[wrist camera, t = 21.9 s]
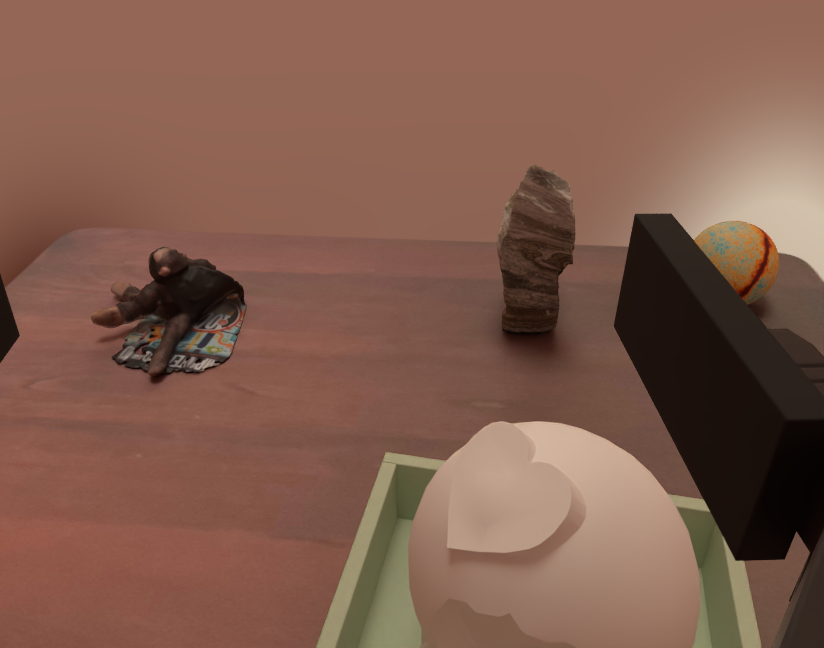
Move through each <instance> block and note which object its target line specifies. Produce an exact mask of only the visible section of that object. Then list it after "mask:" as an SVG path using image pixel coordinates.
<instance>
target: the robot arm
mask: <svg viewBox="0 0 824 648" xmlns="http://www.w3.org/2000/svg"><path fill="white" fill-rule="evenodd" d="M614 328H615V330H616V331H617V333H618V335H619V337H620V339H621V341H622V343H623V345H624V347H625V349H626V351H627V353H628V355H629V356H630V358H631V360H632V362H633V364H634V366H635V368H636V370H637V372H638V374H639V376H640V378H641V380H642V382H643V383H644V385H645V387H646V389H647V391H648V393H649V395H650V397H651V399H652V401H653V403H654V405H655V407H656V408H657V410H658V412H659V414H660V416H661V418H662V420H663V422H664V424H665V426H666V428H667V430H668V432H669V434H670V435H671V437H672V439H673V441H674V443H675V445H676V447H677V449H678V451H679V453H680V455H681V457H682V459H683V460H684V462H685V464H686V466H687V468H688V470H689V472H690V474H691V476H692V478H693V480H694V482H695V484H696V486H697V487H698V489H699V491H700V493H701V495H702V497H703V499H704V501H705V503H706V505H707V507H708V509H709V511H710V512H711V514H712V516H713V518H714V520H715V522H716V524H717V526H718V528H719V530H720V532H721V534H722V536H723V537H724V539H725V541H726V543H727V545H728V547H729V549H730V551H731V553H732V555H733V557H734V559H735V561H748V560H779V559H785V557H786V555H787V552H788V550H789V548H790V545H791V543H792V540H793V538H794V536H795V533H796V531H797V532H798V534H799V536H800V537H801V539H802V540H803V542H804V544H805V545H806V547H807V548H808V550H809V551H810V554H809V556H808V559H807V561H806V563H805V565H804V568H803V570H802V572H801V575H800V577H799V579H798V581H797V584H796V586H795V588H794V590H793V593H792V595H791V597H790V600H789V601H790V603H789V606H788V608H787V611H786V613H785V616H784V618H783V621H782V624H781V626H780V629H779V631H778V634H777V636H776V639H775V641H774V644H773V646H772V648H824V357H823V355H822V354H821V353H820V352H819V351H818V350H817V349H816V348H815V347H814V345H812V344H811V343H809V342H808V341H806V340H804V339H803V338H801V337H799V336H798V335H796V334H795V333H793V332H791V331H790V330H788V329H767V328H766V326H765V325H764V324H763V323H762V322H761V320H760V319H759V318H758V317H757V316H756V314H755V313H754V312H753V311H752V310H751V308H750V307H749V306H748V305H747V304H746V302H745V301H744V300H743V299H742V298H741V297H740V295H739V294H738V293H737V292H736V291H735V289H734V288H733V287H732V286H731V285H730V283H729V282H728V281H727V280H726V279H725V277H724V276H723V275H722V274H721V273H720V271H719V270H718V269H717V268H716V267H715V265H714V264H713V263H712V262H711V261H710V259H709V258H708V257H707V256H706V255H705V253H704V252H703V251H702V250H701V249H700V247H699V246H698V245H697V244H696V243H695V241H694V240H693V239H692V238H691V237H690V235H689V234H688V233H687V232H686V231H685V230H684V228H683V227H682V226H681V225H680V224H679V223H678V221H677V220H676V219H675V218H674V216H673V215H672V214H635V216H634V222H633V227H632V232H631V238H630V243H629V248H628V253H627V259H626V264H625V269H624V275H623V280H622V285H621V291H620V296H619V301H618V306H617V312H616V317H615V322H614ZM19 336H20V335H19V332H18V329H17V325H16V322H15V319H14V316H13V313H12V310H11V306H10V303H9V300H8V297H7V294H6V291H5V288H4V284H3V281H2V278H1V275H0V363H1V361H2V360H3V358H4V357H5V356H6V354H7V353H8V351H9V350H10V349H11V347H12V346H13V344H14V343H15V342H16V340H17V339H18V337H19Z"/></svg>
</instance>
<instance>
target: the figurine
mask: <svg viewBox="0 0 824 648" xmlns="http://www.w3.org/2000/svg"><path fill="white" fill-rule="evenodd" d="M408 560H409V588H410V592H411V596H412V601H413V605H414V609H415V613H416V616H417V619H418V621H419V624H420V626H421V645H420V646H419V647H418V648H692V647H693V644H694V640H695V634H696V628H697V622H698V616H699V610H700V604H701V596H700V578H699V571H698V566H697V562H696V558H695V554H694V550H693V547H692V543H691V539H690V535H689V532H688V530H687V528H686V526H685V524H684V522H683V520H682V518H681V516H680V514H679V512H678V510H677V508H676V506H675V504H674V503H673V502H672V500H671V499H670V497H669V496H668V494H667V493H666V492H665V490H664V489H663V488H662V486H661V485H660V484H659V483H658V481H657V480H656V479H655V477H654V476H653V475H652V473H651V472H650V471H649V470H648V469H646V468H645V467H644V466H643V465H642V464H641V463H640V462H639V461H638V460H637V459H635V458H634V457H633V456H632V455H631V454H629V453H628V452H626V451H624V450H623V449H620V448H619V447H617V446H616V445H614V444H613V443H611V442H610V441H608V440H606V439H604V438H602V437H600V436H597V435H595V434H593V433H590V432H588V431H586V430H584V429H581V428H577V427H573V426H569V425H565V424H561V423H553V422H541V421H536V422H523V423H515V424H512V423H507V422H503V421H500V422H494V423H491V424H489V425H487V426H485V427H484V428H482V429H481V430H480V431H479V432H478V433H477V434H476V435H474V436H473V437H472V438H471V439H470V441H469V442H468V443H467V444H466V445H465V446H464V447H462V448H461V449H459V450H458V451H456V452H455V453H454V454H453V455H452V456H451V457H450V458H449V459H448V460H447V461H446V462H445V463H444V464H443V465H442V466H441V467H440V468H439V469H438V470H437V472H436V473H435V475H434V476H433V478H432V479H431V481H430V482H429V484H428V485H427V487H426V489H425V492H424V494H423V497H422V499H421V502H420V504H419V507H418V509H417V512H416V514H415V517H414V519H413V522H412V527H411V533H410V539H409V544H408Z"/></svg>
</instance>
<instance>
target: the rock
mask: <svg viewBox="0 0 824 648" xmlns="http://www.w3.org/2000/svg"><path fill="white" fill-rule="evenodd" d="M526 173H527V175H526V176H525V177H524V179H523V181H522V182H521V183H520V186H519V188H518V189H517V190H516V191H515V192H514V193H513V195H512V196H511V197H510V198H509V200H508V202H507V204H506V206H505V211H504V213H503V217H502V225H501V227H500V230H499V233H498V239H497V250H498V256H499V260H500V268H501V272H502V277H503V285H504V293H503V294H504V300H505V304H506V308H505V309H504V311H503V314H502V330H503V331H507V332H515V333H538V334H539V333H541V332H549V331H550V330H552V329H554V328H555V327H556V324H557V318H558V310H559V295H558V288H559V286H558V276H559V275H560V274H561V273H562V272H563V270H564V268H565V267H566V266H567V265H568V264H573V255H572V251H573V250H574V242H575V215H574V212H573V200H572V196H571V194H570V188H569V184H568V183H567V182H566V181H564V180H563V179H561V178H560V177H558V174H557V173H556V172H554V171H547V170H545V169H544V168H542V167H538V166H536V165H533V166H530V167H529V168H528V170H527V172H526Z"/></svg>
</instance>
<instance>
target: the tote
mask: <svg viewBox="0 0 824 648" xmlns="http://www.w3.org/2000/svg"><path fill="white" fill-rule="evenodd" d="M445 462H446V461H442V460H436V459H429V458H422V457H416V456H409V455H402V454H396V453H389V452H386V453H385V456H384V458H383V461H382V464H381V467H380V470H379V472H378V475H377V478H376V481H375V484H374V486H373V489H372V492H371V495H370V498H369V500H368V503H367V506H366V509H365V512H364V514H363V517H362V520H361V523H360V526H359V528H358V531H357V534H356V537H355V540H354V542H353V545H352V548H351V551H350V554H349V556H348V559H347V562H346V565H345V568H344V570H343V573H342V576H341V579H340V581H339V584H338V587H337V590H336V593H335V595H334V598H333V601H332V604H331V607H330V609H329V612H328V615H327V618H326V621H325V623H324V626H323V629H322V632H321V635H320V637H319V640H318V643H317V646H316V648H418V647H419V646H420V645H421V626H420V624H419V621H418V619H417V616H416V613H415V609H414V605H413V601H412V596H411V592H410V588H409V560H408V544H409V539H410V533H411V527H412V522H413V519H414V517H415V514H416V512H417V509H418V507H419V504H420V502H421V499H422V497H423V494H424V492H425V489H426V487H427V485H428V484H429V482H430V481H431V479H432V478H433V476H434V475H435V473H436V472H437V470H438V469H439V468H440V467H441V466H442V465H443V464H444V463H445ZM668 496H669V497H670V499H671V500H672V502H673V503H674V504H675V506H676V508H677V510H678V512H679V514H680V516H681V518H682V520H683V522H684V524H685V526H686V528H687V530H688V532H689V535H690V539H691V543H692V547H693V550H694V554H695V558H696V562H697V566H698V571H699V578H700V596H701V604H700V610H699V616H698V622H697V628H696V634H695V640H694V644H693V647H692V648H762V646H761V641H760V636H759V631H758V626H757V621H756V617H755V612H754V607H753V602H752V597H751V592H750V587H749V582H748V577H747V572H746V567H745V563H744V561H735V559H734V557H733V555H732V553H731V551H730V549H729V547H728V545H727V543H726V541H725V539H724V537H723V536H722V534H721V532H720V530H719V528H718V526H717V524H716V522H715V520H714V518H713V516H712V514H711V512H710V511H709V509H708V507H707V505H706V503H705V501H704V500H702V499H695V498H689V497H682V496H675V495H669V494H668Z"/></svg>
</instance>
